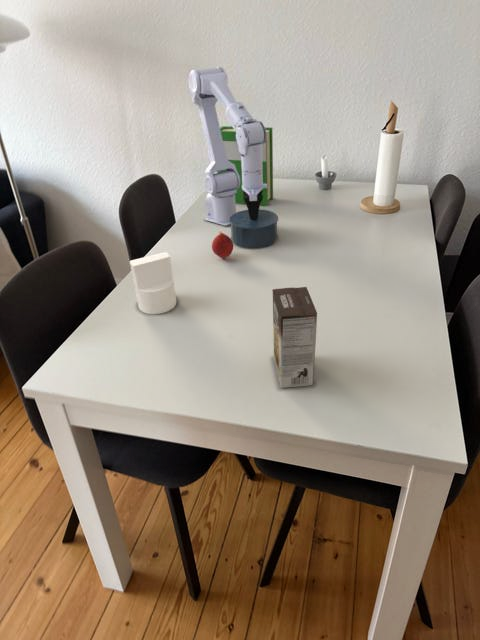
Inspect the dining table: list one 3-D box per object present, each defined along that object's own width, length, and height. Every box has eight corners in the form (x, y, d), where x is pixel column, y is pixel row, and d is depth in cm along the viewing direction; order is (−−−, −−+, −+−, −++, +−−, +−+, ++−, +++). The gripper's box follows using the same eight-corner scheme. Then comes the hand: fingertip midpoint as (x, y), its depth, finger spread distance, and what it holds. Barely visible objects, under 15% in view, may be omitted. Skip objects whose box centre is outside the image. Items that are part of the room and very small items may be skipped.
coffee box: (272, 358, 94) (271, 288, 85) (304, 355, 94) (307, 285, 85) (279, 389, 87) (279, 315, 78) (314, 385, 87) (318, 312, 78)
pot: (222, 241, 141) (221, 222, 138) (251, 226, 149) (250, 208, 146) (258, 252, 133) (257, 232, 130) (285, 236, 142) (286, 217, 138)
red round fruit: (235, 253, 134) (233, 227, 129) (232, 263, 129) (230, 236, 124) (214, 253, 134) (212, 227, 130) (211, 263, 130) (209, 236, 125)
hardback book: (273, 198, 169) (272, 127, 156) (267, 205, 163) (265, 132, 150) (227, 194, 174) (222, 126, 161) (219, 201, 169) (214, 131, 155)
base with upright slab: (145, 318, 108) (136, 271, 102) (133, 300, 115) (124, 256, 108) (182, 307, 112) (175, 261, 105) (168, 290, 118) (162, 246, 112)
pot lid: (219, 224, 138) (218, 207, 135) (250, 209, 147) (249, 193, 144) (257, 235, 130) (257, 218, 127) (287, 219, 139) (288, 202, 136)
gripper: (267, 177, 124) (268, 225, 131) (265, 161, 136) (266, 206, 143) (240, 178, 124) (243, 226, 131) (241, 162, 136) (243, 207, 143)
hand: (253, 216), depth 137 cm, fingers closed on pot lid, 2 cm apart
